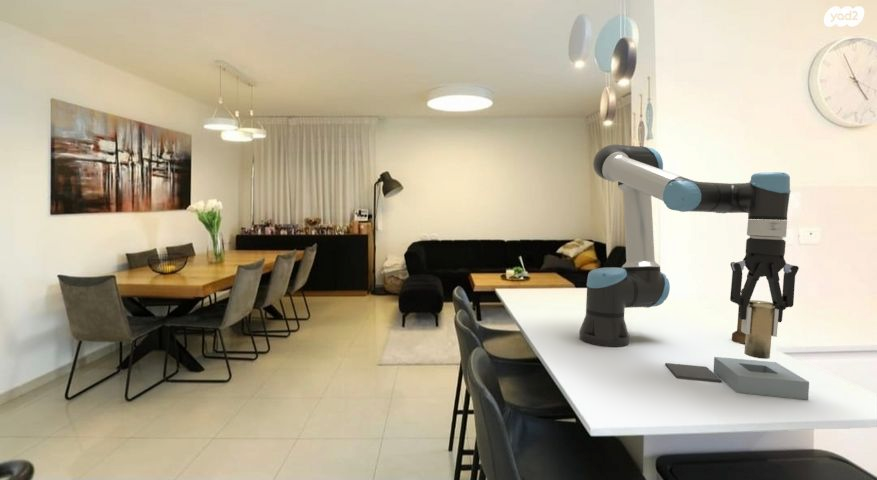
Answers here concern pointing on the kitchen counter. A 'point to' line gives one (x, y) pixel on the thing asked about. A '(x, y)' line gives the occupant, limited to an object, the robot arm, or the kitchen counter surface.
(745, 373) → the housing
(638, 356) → the kitchen counter surface
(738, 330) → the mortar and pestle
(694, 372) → the rubber pad
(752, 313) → the tan cylinder
